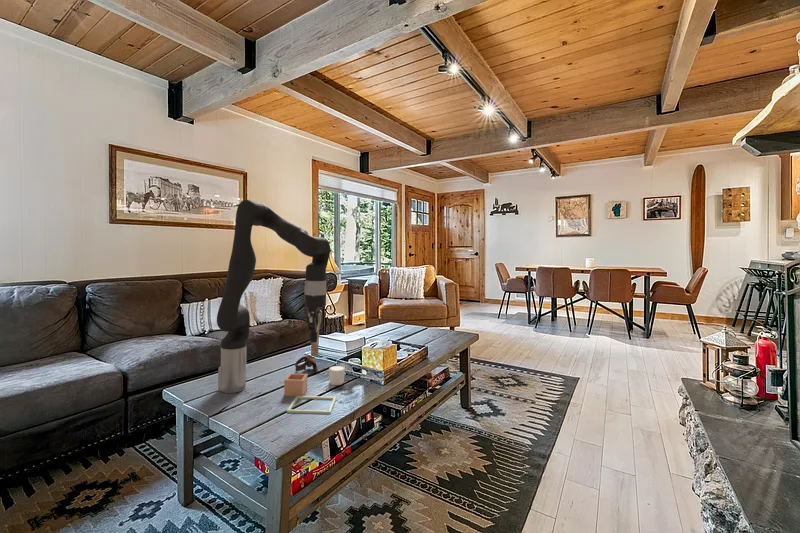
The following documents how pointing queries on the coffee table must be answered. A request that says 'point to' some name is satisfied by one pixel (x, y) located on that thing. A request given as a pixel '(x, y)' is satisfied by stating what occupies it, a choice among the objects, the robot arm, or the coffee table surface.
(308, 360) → the brown curved piece
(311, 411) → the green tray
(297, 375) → the square clay pot
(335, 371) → the beige cylinder
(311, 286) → the robot arm
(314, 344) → the birch pin
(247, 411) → the coffee table surface
